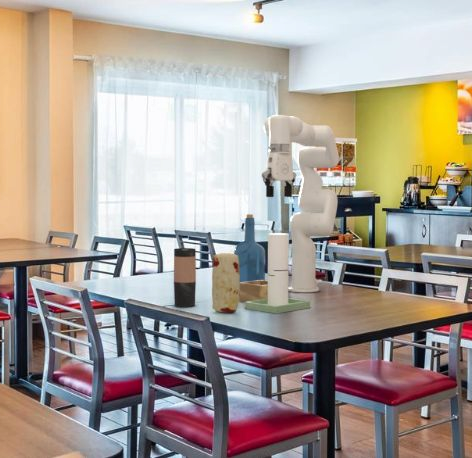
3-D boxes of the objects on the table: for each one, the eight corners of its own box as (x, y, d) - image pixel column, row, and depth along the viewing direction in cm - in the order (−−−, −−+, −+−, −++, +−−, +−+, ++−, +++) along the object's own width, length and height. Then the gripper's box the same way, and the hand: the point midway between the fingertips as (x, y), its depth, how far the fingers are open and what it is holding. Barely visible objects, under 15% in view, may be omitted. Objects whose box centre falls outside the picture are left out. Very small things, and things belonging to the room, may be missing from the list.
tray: (279, 302, 282) (279, 296, 282) (310, 307, 272) (310, 301, 272) (244, 308, 270) (244, 301, 270) (275, 313, 260) (275, 306, 260)
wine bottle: (246, 282, 338) (246, 213, 336) (271, 285, 330) (271, 214, 328) (226, 285, 327) (226, 214, 325) (251, 288, 319) (252, 215, 317)
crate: (260, 298, 293) (260, 279, 293) (283, 301, 285) (283, 282, 285) (238, 301, 285) (238, 282, 284) (261, 305, 277) (261, 285, 276)
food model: (208, 312, 260) (208, 253, 259) (216, 309, 266) (217, 251, 265) (235, 314, 257) (236, 254, 255) (243, 311, 263) (243, 252, 262)
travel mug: (199, 304, 277) (199, 248, 275) (190, 308, 269) (190, 250, 268) (179, 303, 279) (179, 247, 278) (170, 306, 272) (170, 249, 271)
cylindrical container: (286, 307, 267) (286, 234, 265) (265, 306, 268) (266, 234, 267) (289, 304, 274) (290, 233, 272) (269, 303, 275) (270, 233, 274)
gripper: (270, 148, 274) (270, 197, 275) (303, 150, 286) (302, 196, 287) (255, 149, 279) (255, 196, 280) (287, 150, 291) (287, 196, 292)
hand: (279, 196), depth 284 cm, fingers open, 9 cm apart
